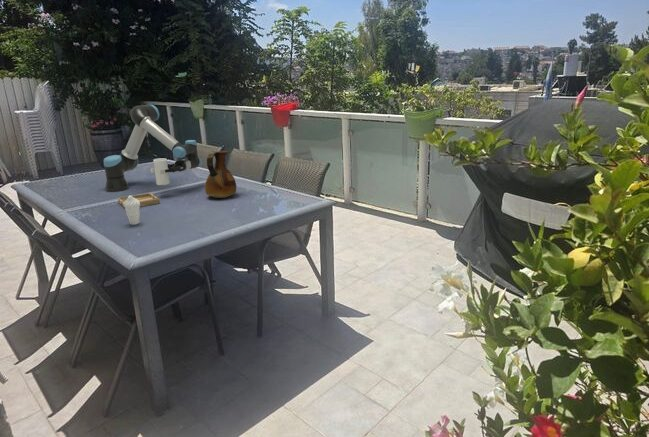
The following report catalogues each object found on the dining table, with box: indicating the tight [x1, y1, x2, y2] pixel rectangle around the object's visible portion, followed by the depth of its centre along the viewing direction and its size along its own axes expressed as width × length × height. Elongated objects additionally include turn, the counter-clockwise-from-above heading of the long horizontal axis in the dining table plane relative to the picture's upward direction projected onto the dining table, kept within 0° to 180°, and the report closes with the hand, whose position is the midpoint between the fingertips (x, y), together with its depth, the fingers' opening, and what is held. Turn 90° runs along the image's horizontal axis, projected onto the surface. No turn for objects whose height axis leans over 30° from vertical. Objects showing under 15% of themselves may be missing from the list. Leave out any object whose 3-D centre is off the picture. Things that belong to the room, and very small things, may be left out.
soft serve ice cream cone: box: [123, 194, 141, 226], centre depth 244 cm, size 8×8×16 cm
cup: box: [153, 158, 171, 186], centre depth 295 cm, size 8×8×16 cm
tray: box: [117, 192, 161, 209], centre depth 286 cm, size 20×20×3 cm
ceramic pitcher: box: [204, 150, 237, 199], centre depth 292 cm, size 20×20×30 cm
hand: (155, 171), depth 291 cm, fingers closed on cup, 8 cm apart
